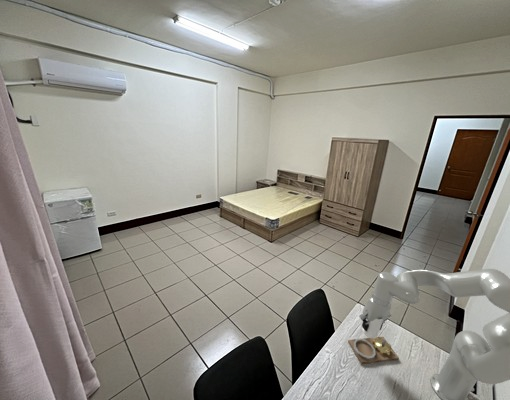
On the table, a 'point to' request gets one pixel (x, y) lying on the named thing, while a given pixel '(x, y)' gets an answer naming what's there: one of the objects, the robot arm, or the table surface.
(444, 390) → the robot arm
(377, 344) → the gear
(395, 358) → the gear board
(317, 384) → the table surface
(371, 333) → the can
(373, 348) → the ring
